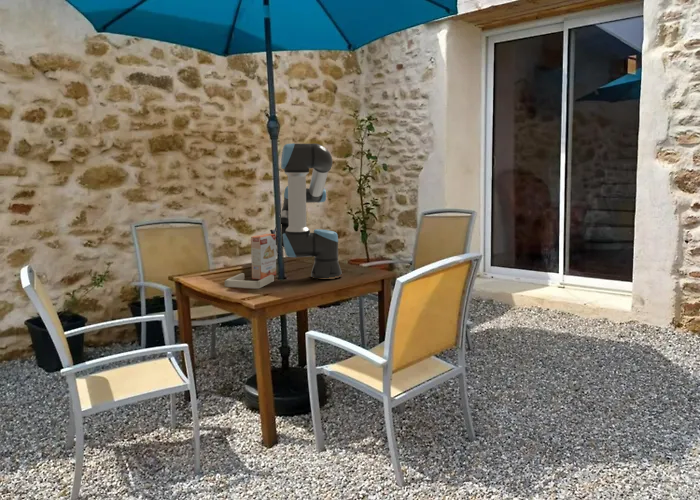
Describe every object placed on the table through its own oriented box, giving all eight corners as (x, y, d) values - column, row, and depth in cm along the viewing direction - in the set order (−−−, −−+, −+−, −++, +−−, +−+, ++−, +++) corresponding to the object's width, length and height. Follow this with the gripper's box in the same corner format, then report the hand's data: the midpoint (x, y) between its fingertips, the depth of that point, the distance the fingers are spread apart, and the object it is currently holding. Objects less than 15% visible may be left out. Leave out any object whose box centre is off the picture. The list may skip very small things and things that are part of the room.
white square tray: (274, 281, 281) (273, 274, 280) (258, 288, 264) (258, 282, 264) (241, 279, 285) (241, 273, 285) (224, 286, 269) (224, 280, 269)
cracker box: (261, 280, 283) (260, 237, 280) (251, 279, 286) (249, 236, 282) (277, 274, 296) (276, 233, 292) (267, 273, 298) (265, 233, 295)
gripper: (298, 225, 315) (287, 261, 302) (276, 225, 319) (264, 260, 305) (295, 216, 309) (283, 253, 296) (272, 216, 313) (259, 252, 300)
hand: (273, 256), depth 301 cm, fingers closed
